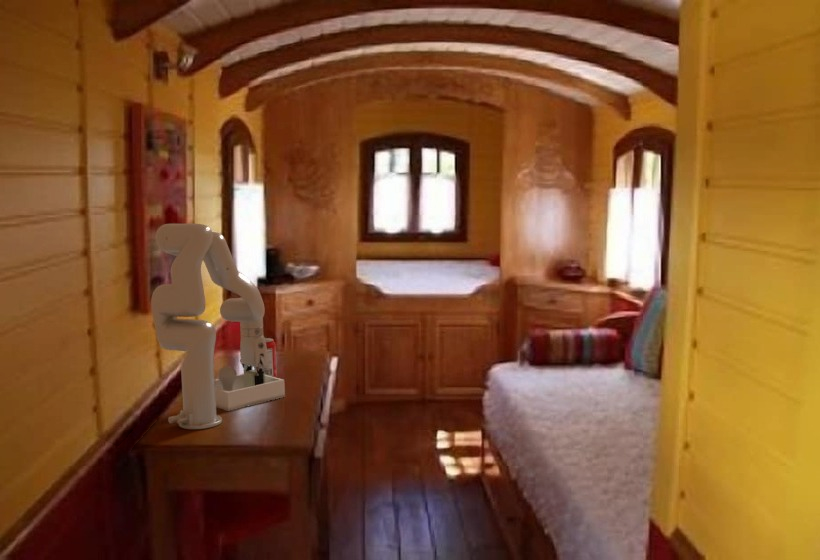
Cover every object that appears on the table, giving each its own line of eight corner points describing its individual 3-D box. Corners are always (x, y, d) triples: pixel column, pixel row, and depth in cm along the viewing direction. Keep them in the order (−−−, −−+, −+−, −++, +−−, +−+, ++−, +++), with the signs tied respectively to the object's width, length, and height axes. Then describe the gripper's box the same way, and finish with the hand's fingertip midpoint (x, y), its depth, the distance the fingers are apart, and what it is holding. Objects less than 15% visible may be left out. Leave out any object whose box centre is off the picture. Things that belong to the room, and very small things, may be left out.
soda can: (267, 383, 284) (265, 342, 283) (250, 380, 288) (249, 340, 287) (281, 378, 291) (279, 338, 289) (265, 376, 295) (263, 336, 293)
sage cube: (252, 388, 264) (252, 374, 263) (244, 386, 267) (243, 371, 266) (265, 385, 267) (264, 371, 267) (256, 383, 271) (255, 369, 270)
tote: (228, 411, 250) (227, 392, 249) (198, 401, 262) (197, 383, 262) (285, 397, 265) (284, 379, 265) (254, 388, 278) (253, 371, 277)
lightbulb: (233, 401, 258) (232, 368, 256) (215, 400, 258) (214, 367, 257) (240, 396, 264) (239, 364, 262) (222, 395, 264) (221, 363, 263)
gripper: (276, 333, 261) (278, 387, 264) (247, 327, 273) (249, 378, 276) (257, 337, 256) (259, 391, 258) (228, 330, 268) (231, 383, 270)
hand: (254, 384), depth 267 cm, fingers closed on sage cube, 5 cm apart
